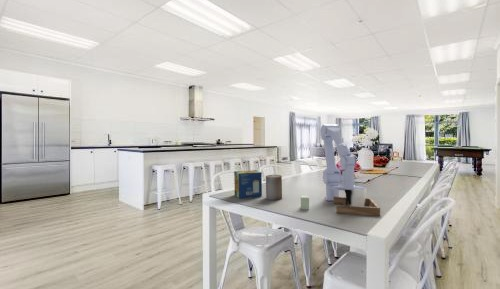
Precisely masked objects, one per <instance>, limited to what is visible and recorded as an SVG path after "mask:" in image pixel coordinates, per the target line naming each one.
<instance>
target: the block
mask: <svg viewBox="0 0 500 289" xmlns="http://www.w3.org/2000/svg"><path fill="white" fill-rule="evenodd" d="M300 209H301V210H310V196H309V195H301V196H300Z"/></svg>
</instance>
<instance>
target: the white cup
mask: <svg viewBox="0 0 500 289" xmlns="http://www.w3.org/2000/svg"><path fill="white" fill-rule="evenodd" d="M355 186H356V187H360V186H357V185H355ZM362 187H363V188H364V190H362V189H355V188H354V189H351V191H352V193H351V195H350V201H351V205H349V206H361V207H365V205H364V203H365V199H366V198H367V193H368V192H367V190H368V189H367V188H366V187H364V186H362Z"/></svg>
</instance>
